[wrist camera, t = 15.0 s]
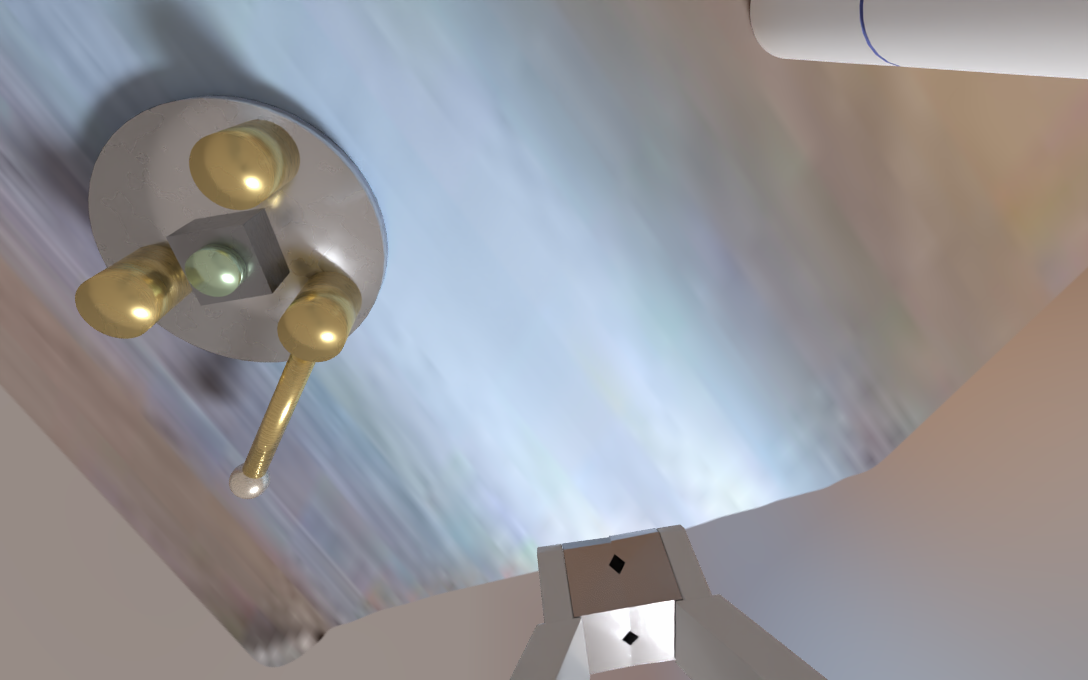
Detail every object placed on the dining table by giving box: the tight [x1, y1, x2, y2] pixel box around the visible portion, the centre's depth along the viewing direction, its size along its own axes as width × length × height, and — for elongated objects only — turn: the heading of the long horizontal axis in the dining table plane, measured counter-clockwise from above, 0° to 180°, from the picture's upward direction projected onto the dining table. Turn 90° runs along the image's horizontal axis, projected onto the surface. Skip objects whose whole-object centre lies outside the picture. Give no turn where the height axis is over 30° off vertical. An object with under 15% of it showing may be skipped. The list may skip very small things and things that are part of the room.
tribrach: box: [75, 95, 388, 362], centre depth 38 cm, size 20×20×8 cm
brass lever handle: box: [229, 271, 362, 499], centre depth 42 cm, size 20×4×6 cm, turn 150°
